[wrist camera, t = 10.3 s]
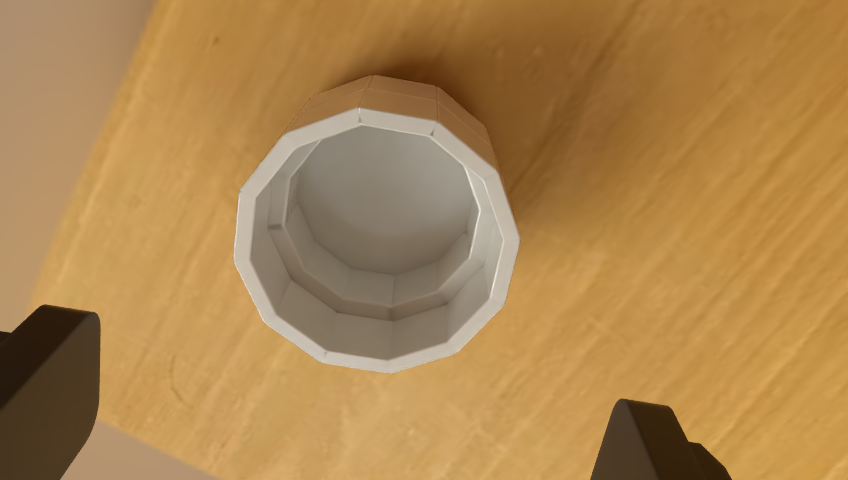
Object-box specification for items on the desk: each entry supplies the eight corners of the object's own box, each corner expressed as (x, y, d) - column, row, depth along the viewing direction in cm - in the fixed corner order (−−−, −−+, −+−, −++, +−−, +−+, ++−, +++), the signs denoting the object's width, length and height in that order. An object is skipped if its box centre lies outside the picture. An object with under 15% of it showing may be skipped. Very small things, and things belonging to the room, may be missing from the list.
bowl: (263, 271, 22) (224, 348, 18) (286, 54, 20) (247, 86, 16) (475, 305, 23) (484, 389, 19) (522, 97, 20) (545, 140, 16)
